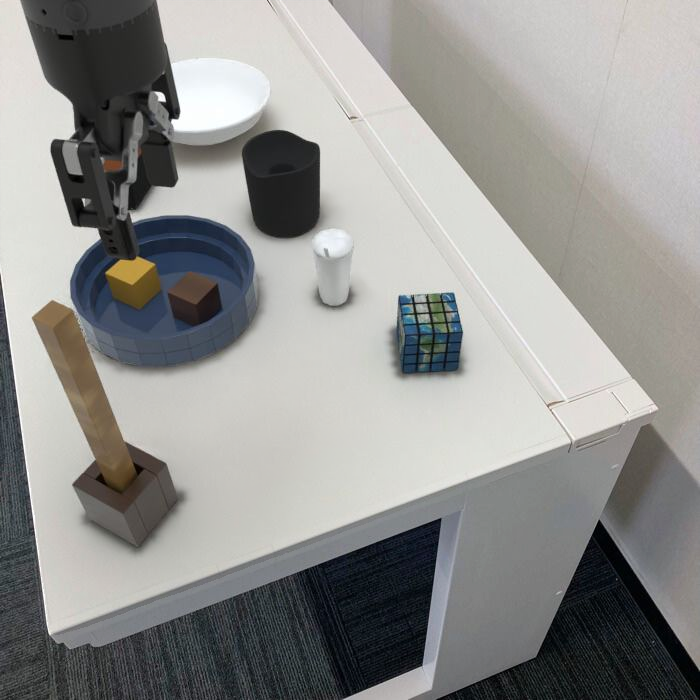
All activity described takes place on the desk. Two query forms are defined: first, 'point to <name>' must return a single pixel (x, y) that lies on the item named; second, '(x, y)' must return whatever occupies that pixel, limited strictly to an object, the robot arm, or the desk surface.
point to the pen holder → (282, 182)
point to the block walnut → (194, 299)
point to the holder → (128, 497)
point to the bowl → (216, 99)
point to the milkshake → (333, 264)
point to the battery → (136, 188)
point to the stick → (85, 392)
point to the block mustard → (134, 281)
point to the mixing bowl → (156, 316)
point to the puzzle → (428, 332)
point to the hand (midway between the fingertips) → (145, 218)
